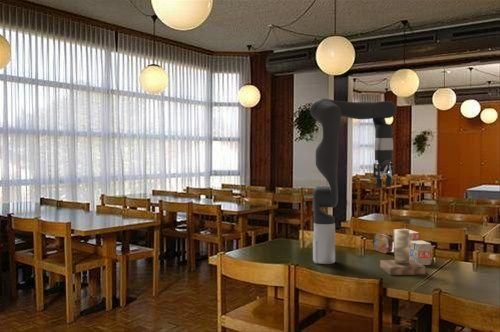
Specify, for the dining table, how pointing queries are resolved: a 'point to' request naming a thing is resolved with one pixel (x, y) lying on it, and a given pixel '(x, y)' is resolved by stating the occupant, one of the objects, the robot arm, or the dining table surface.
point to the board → (402, 268)
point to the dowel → (401, 246)
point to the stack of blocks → (418, 249)
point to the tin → (382, 243)
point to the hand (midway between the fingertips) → (384, 187)
